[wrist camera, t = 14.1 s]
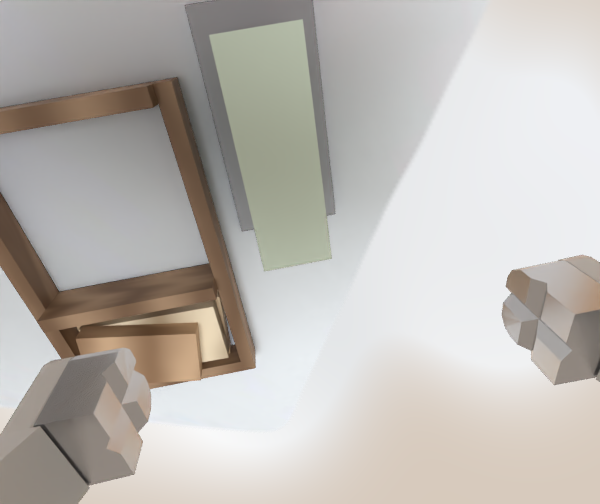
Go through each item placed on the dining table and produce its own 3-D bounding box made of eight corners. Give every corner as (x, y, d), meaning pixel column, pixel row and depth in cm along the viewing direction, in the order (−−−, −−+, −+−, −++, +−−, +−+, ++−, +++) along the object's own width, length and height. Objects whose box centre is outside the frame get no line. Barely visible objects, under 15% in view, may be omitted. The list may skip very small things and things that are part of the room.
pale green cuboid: (259, 205, 30) (264, 271, 22) (222, 36, 24) (208, 35, 16) (307, 196, 30) (331, 258, 22) (283, 26, 24) (302, 19, 16)
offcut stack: (101, 358, 38) (84, 395, 34) (77, 302, 34) (55, 336, 30) (231, 342, 39) (229, 376, 35) (220, 286, 35) (216, 317, 31)
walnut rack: (98, 380, 38) (83, 414, 35) (-64, 118, 25) (-113, 131, 22) (255, 349, 39) (255, 380, 36) (177, 77, 26) (166, 82, 22)
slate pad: (242, 227, 32) (242, 231, 31) (186, 6, 24) (184, 5, 23) (333, 210, 32) (335, 214, 31) (309, -15, 24) (310, -16, 23)
